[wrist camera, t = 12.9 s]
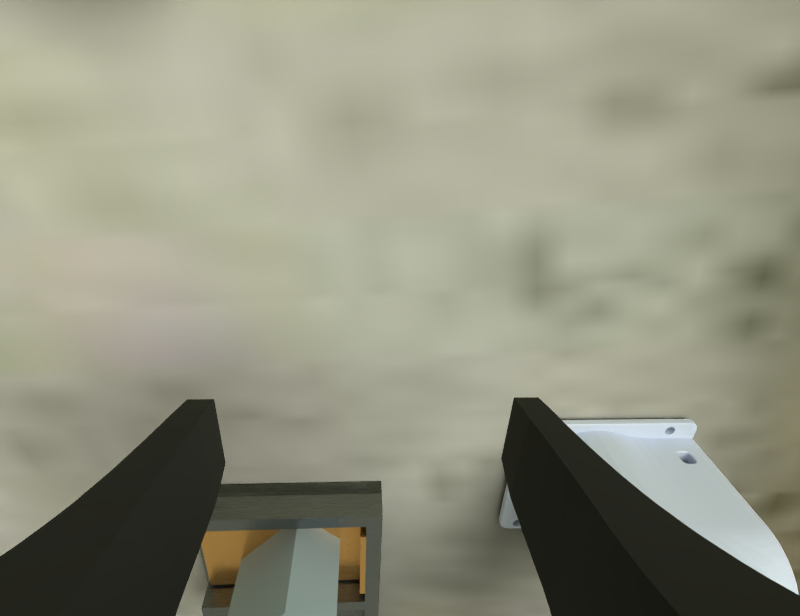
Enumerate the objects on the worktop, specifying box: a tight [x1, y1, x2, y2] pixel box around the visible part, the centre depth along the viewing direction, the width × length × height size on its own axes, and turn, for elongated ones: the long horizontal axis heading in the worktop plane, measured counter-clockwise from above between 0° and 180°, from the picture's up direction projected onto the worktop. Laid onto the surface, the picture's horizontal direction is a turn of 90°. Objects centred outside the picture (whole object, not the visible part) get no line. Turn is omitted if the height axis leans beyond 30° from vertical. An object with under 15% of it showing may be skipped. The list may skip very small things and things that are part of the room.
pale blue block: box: [228, 528, 340, 616], centre depth 24 cm, size 3×5×5 cm, turn 134°
